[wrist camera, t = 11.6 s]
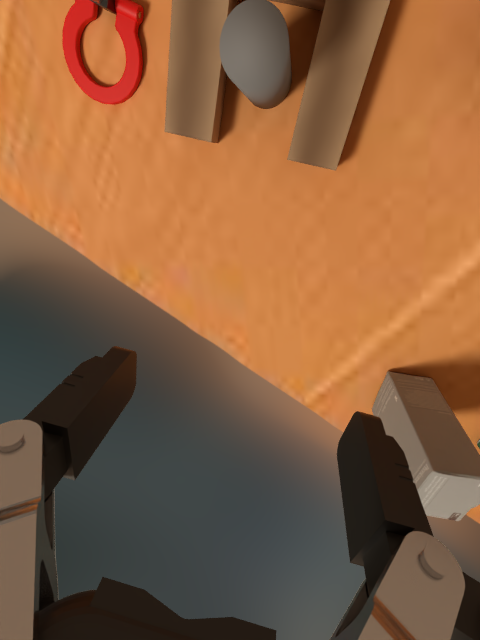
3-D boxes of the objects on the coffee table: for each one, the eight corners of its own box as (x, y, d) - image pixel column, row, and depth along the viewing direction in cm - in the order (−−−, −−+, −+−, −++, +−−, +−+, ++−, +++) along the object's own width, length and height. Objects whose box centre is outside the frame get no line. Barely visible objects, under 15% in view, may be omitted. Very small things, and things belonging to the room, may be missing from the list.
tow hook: (136, 118, 34) (154, 12, 29) (57, 110, 24) (65, -60, 19) (66, 84, 34) (73, -30, 29) (-47, 60, 23) (-67, -128, 18)
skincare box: (386, 369, 44) (426, 466, 30) (438, 377, 43) (503, 481, 30) (369, 411, 48) (397, 513, 34) (416, 419, 47) (464, 527, 34)
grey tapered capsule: (297, 54, 29) (297, 6, 20) (284, 113, 32) (278, 96, 22) (249, 43, 29) (225, -9, 20) (239, 103, 32) (214, 82, 22)
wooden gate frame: (388, -9, 26) (433, -89, 18) (332, 169, 33) (345, 175, 25) (188, -49, 27) (136, -143, 18) (174, 133, 34) (132, 126, 25)
